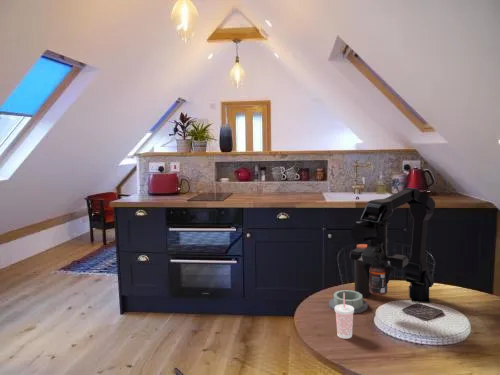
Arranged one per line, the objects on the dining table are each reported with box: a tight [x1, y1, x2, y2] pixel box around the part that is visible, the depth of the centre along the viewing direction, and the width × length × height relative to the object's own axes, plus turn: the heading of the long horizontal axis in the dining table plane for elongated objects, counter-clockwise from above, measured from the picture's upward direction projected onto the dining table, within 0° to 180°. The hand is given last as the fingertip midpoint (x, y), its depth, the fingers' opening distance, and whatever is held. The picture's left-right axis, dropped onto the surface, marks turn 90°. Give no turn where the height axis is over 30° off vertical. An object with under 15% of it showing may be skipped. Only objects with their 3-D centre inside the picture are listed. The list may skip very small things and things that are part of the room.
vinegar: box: [353, 243, 373, 298], centre depth 157 cm, size 7×7×20 cm
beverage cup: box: [334, 293, 354, 339], centre depth 125 cm, size 6×6×14 cm
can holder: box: [328, 289, 368, 315], centre depth 148 cm, size 14×14×4 cm
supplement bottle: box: [369, 261, 388, 296], centre depth 137 cm, size 6×6×11 cm
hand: (378, 281), depth 137 cm, fingers closed on supplement bottle, 6 cm apart
